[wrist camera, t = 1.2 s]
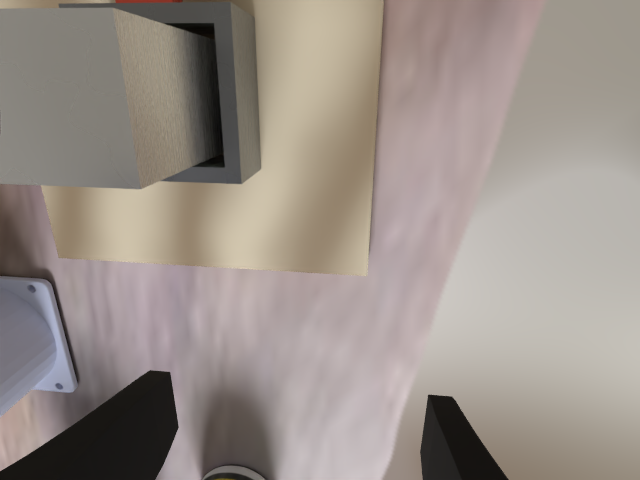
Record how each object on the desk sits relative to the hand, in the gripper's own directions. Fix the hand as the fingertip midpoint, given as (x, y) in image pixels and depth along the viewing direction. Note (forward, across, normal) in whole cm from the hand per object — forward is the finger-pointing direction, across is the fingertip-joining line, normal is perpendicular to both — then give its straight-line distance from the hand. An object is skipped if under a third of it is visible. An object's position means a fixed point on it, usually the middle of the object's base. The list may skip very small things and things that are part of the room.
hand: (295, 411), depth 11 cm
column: (+9, +6, -8) cm, 13 cm away
